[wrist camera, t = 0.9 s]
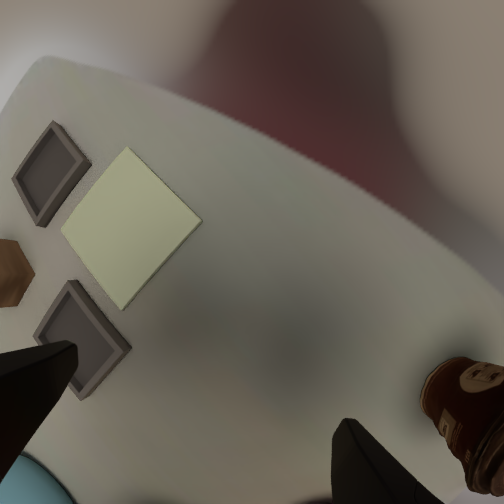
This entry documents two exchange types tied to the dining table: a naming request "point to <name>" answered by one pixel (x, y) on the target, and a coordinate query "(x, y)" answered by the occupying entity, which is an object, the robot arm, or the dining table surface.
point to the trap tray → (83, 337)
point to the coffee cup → (470, 418)
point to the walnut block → (13, 273)
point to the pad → (128, 227)
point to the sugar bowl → (31, 485)
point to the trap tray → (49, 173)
